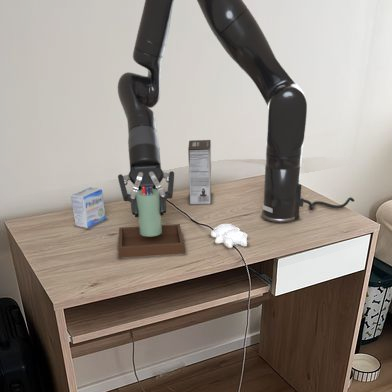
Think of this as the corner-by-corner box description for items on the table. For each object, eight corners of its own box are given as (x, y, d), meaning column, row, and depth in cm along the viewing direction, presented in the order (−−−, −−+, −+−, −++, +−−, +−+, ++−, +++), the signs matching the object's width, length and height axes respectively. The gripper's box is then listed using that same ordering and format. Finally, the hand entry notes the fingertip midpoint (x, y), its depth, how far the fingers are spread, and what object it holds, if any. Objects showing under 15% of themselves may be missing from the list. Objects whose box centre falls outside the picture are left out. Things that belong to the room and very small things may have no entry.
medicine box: (87, 229, 145) (82, 197, 141) (75, 226, 147) (70, 194, 143) (106, 219, 151) (102, 188, 146) (94, 216, 153) (90, 186, 148)
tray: (180, 234, 141) (179, 223, 140) (184, 254, 131) (183, 243, 129) (120, 237, 140) (119, 227, 139) (119, 258, 130) (118, 247, 128)
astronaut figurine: (218, 250, 133) (218, 238, 131) (207, 231, 142) (207, 220, 140) (253, 246, 134) (253, 235, 132) (240, 228, 144) (240, 217, 142)
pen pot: (161, 227, 136) (158, 180, 129) (162, 235, 132) (159, 187, 125) (139, 228, 136) (134, 181, 129) (139, 237, 131) (135, 189, 124)
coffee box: (190, 194, 167) (188, 139, 158) (211, 193, 167) (210, 139, 157) (189, 204, 159) (187, 148, 150) (211, 204, 159) (211, 147, 150)
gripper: (113, 143, 129) (118, 210, 126) (173, 140, 130) (179, 206, 127) (116, 160, 136) (120, 223, 133) (173, 156, 137) (179, 219, 134)
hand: (149, 214), depth 130 cm, fingers closed on pen pot, 5 cm apart
